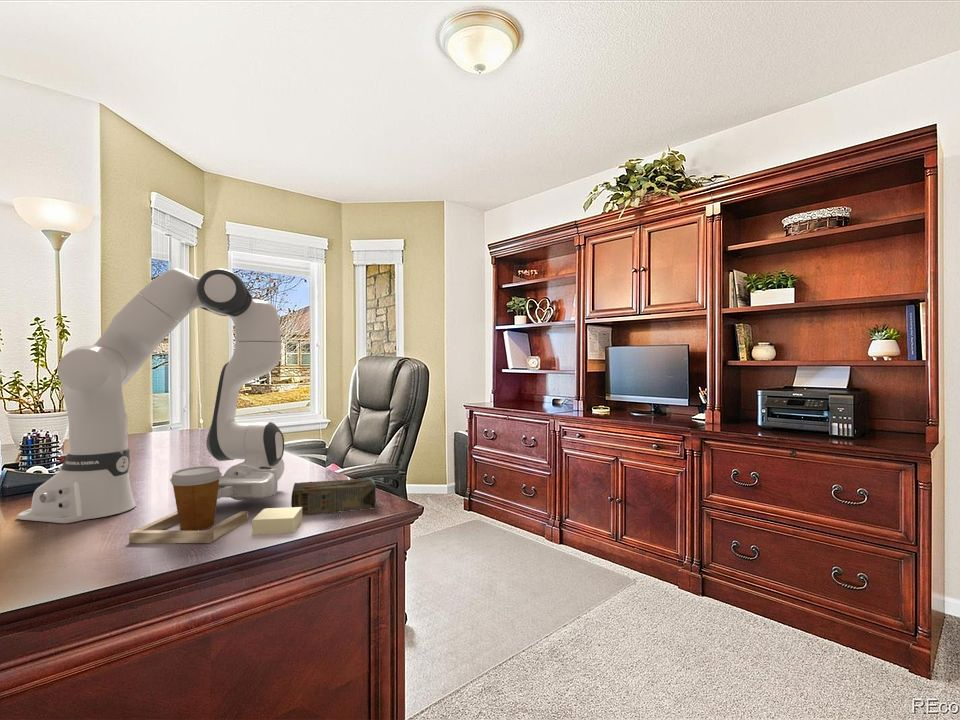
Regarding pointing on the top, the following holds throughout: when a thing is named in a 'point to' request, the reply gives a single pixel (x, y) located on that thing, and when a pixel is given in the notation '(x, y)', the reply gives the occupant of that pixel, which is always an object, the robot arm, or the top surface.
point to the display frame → (158, 535)
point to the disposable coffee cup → (196, 496)
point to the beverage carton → (334, 496)
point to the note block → (277, 520)
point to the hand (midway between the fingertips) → (210, 495)
